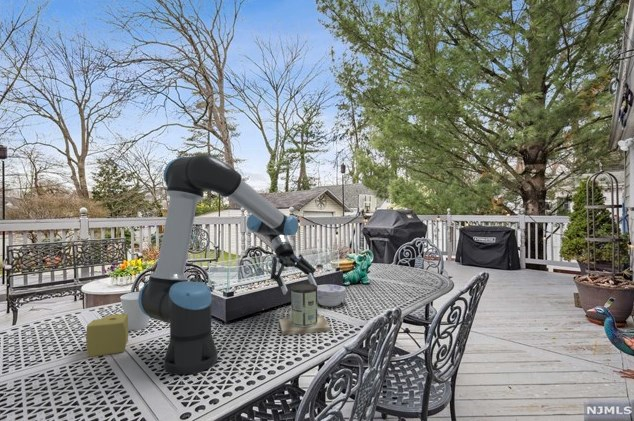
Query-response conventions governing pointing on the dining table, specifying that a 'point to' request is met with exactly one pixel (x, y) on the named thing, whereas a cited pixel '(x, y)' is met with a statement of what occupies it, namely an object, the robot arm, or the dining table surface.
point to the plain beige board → (291, 329)
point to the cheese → (107, 335)
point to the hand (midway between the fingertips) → (300, 290)
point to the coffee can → (304, 305)
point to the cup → (134, 311)
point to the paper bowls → (330, 295)
